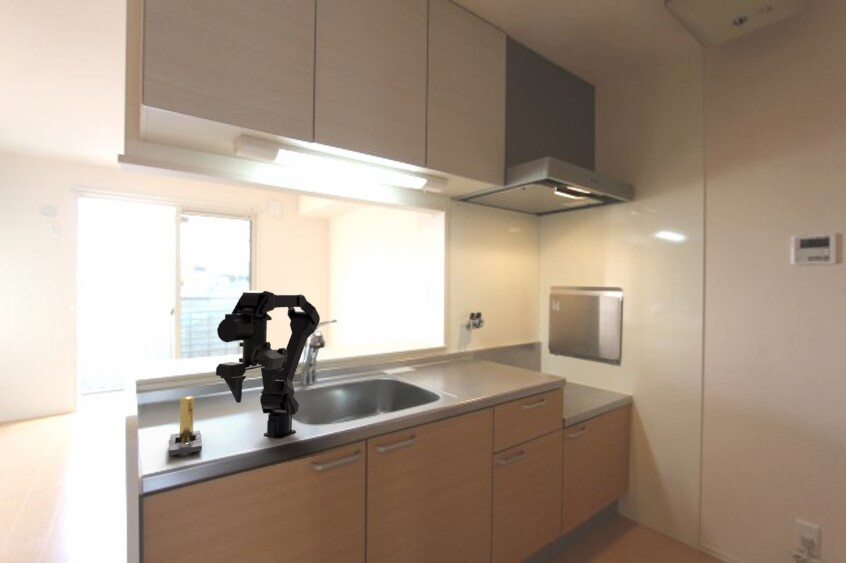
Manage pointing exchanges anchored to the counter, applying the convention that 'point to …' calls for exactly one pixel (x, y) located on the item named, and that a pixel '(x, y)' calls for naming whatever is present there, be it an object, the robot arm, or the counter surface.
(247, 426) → the counter surface
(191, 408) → the pin
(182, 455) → the grey slotted block
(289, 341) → the robot arm
